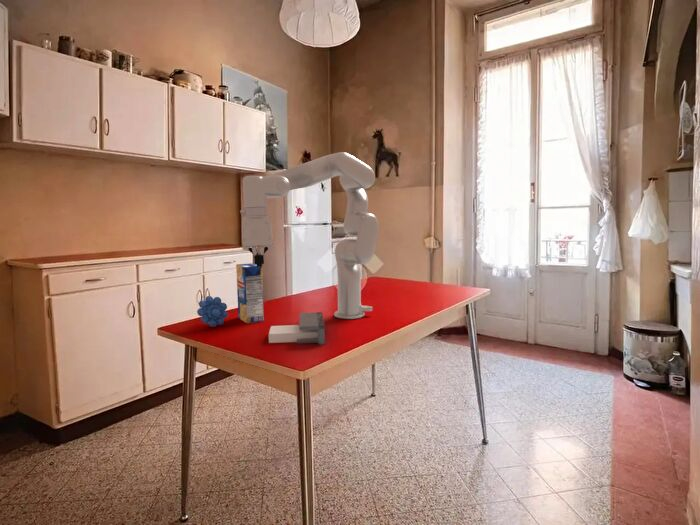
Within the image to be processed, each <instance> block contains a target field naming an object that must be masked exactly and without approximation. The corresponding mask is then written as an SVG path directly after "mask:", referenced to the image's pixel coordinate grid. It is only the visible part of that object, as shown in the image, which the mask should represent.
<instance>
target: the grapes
mask: <svg viewBox="0 0 700 525" xmlns="http://www.w3.org/2000/svg"><path fill="white" fill-rule="evenodd" d="M198 306H199V307H200V308H198V309H197V310H196V313H197V315H198V316H200V321H201V323H202V324H208V325H209V326H210V327H212V328H215V327H216V326H217V325H223V324H225V319H227V318H228V316H229V313H228V311H227V309H228V305H227V304H226V303H225V302H222V299H221V298H220V297H219V296H214V297H213V296H210V295H207V296H206V297H205V298H204V300H203V299H202V300H199V303H198Z"/></svg>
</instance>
